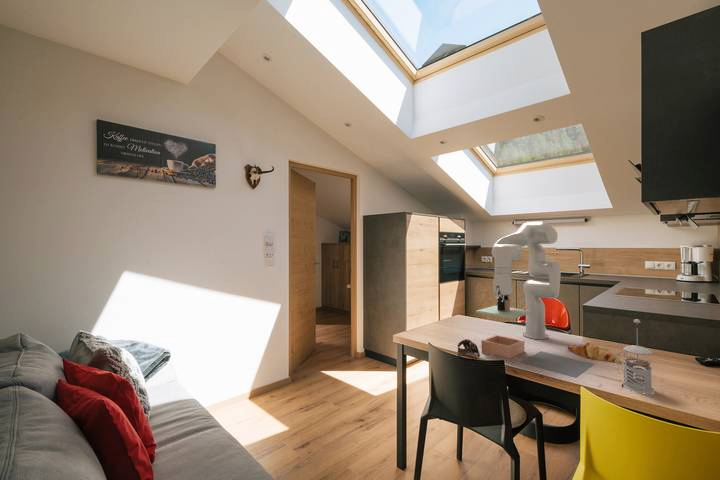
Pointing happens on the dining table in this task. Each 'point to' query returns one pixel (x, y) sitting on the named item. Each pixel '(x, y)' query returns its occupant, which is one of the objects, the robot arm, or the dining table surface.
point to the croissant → (593, 352)
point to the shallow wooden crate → (502, 346)
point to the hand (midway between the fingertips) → (503, 308)
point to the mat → (558, 364)
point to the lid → (507, 313)
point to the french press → (637, 369)
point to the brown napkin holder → (467, 347)
